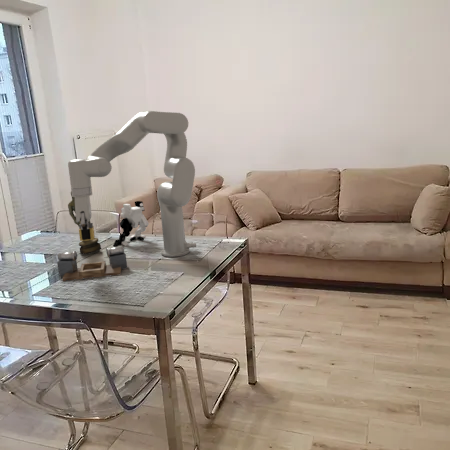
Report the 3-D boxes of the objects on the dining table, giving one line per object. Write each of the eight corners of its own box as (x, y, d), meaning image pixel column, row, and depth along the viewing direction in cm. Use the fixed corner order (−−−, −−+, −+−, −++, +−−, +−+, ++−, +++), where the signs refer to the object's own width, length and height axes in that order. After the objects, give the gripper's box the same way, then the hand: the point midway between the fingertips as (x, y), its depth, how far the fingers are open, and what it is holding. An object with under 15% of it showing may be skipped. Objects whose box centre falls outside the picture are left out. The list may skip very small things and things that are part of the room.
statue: (96, 256, 211) (87, 190, 203) (73, 256, 213) (64, 190, 206) (106, 249, 221) (98, 185, 213) (85, 249, 223) (76, 186, 216)
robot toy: (139, 235, 241) (135, 197, 236) (157, 239, 232) (153, 200, 226) (107, 245, 227) (102, 204, 222) (125, 250, 218) (121, 207, 213)
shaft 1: (59, 275, 188) (55, 253, 186) (63, 272, 192) (60, 250, 190) (75, 275, 187) (72, 253, 185) (79, 271, 191) (76, 249, 189)
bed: (121, 265, 196) (121, 259, 195) (120, 274, 185) (119, 267, 184) (66, 271, 192) (65, 265, 192) (62, 281, 182) (61, 274, 181)
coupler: (81, 237, 187) (79, 223, 186) (94, 236, 188) (92, 221, 186) (80, 240, 182) (78, 225, 181) (93, 239, 183) (91, 224, 182)
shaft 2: (124, 265, 196) (122, 243, 194) (127, 268, 192) (124, 246, 190) (108, 268, 193) (105, 246, 191) (110, 271, 189) (107, 249, 187)
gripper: (74, 189, 188) (80, 233, 192) (68, 196, 172) (74, 244, 176) (94, 187, 189) (99, 231, 194) (89, 194, 173) (95, 242, 177)
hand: (87, 237), depth 185 cm, fingers closed on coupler, 5 cm apart
